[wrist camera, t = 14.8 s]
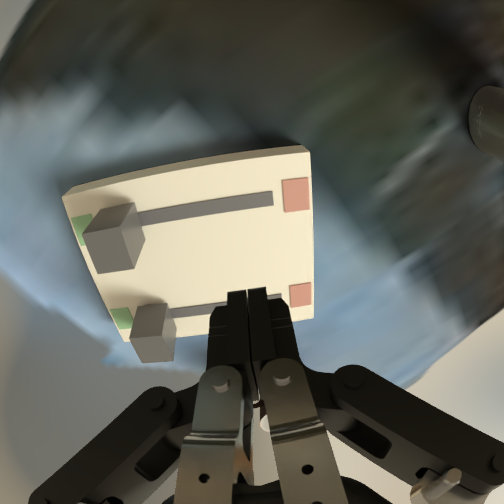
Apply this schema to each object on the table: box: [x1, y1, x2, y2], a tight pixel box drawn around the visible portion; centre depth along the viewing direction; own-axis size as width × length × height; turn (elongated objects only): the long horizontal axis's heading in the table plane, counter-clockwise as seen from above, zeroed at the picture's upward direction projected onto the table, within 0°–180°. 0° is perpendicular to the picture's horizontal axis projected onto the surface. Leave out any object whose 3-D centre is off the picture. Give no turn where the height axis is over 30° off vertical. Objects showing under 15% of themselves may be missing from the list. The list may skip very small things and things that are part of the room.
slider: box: [129, 303, 177, 363], centre depth 32 cm, size 4×4×5 cm
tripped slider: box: [82, 202, 146, 274], centre depth 26 cm, size 4×4×5 cm
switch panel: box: [62, 145, 314, 342], centre depth 33 cm, size 24×20×3 cm
